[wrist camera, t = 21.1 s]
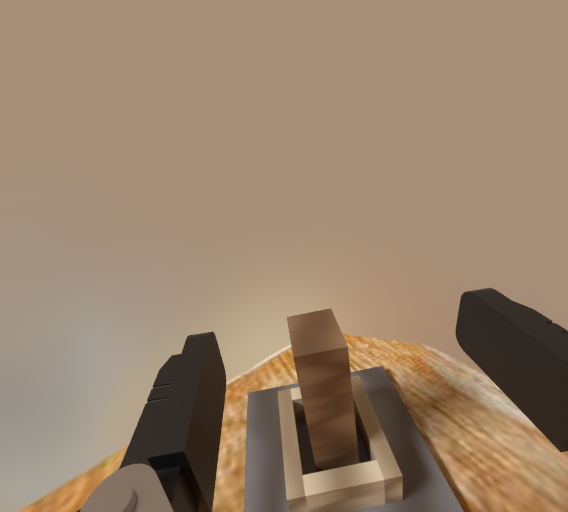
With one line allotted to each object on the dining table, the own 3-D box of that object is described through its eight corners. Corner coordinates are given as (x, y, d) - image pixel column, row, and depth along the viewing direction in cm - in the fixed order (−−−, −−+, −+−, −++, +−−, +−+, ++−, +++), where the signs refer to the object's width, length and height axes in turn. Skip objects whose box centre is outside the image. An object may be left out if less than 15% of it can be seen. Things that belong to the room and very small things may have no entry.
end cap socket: (243, 608, 20) (228, 580, 19) (249, 398, 37) (242, 373, 35) (484, 557, 21) (491, 524, 19) (382, 371, 37) (381, 345, 35)
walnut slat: (318, 480, 26) (293, 357, 20) (309, 429, 31) (286, 317, 25) (360, 471, 26) (347, 346, 20) (344, 422, 31) (330, 308, 25)
